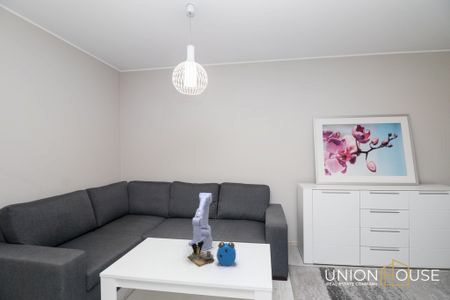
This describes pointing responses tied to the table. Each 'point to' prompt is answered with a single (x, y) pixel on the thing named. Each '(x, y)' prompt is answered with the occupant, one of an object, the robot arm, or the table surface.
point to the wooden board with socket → (201, 258)
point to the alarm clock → (226, 253)
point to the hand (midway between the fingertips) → (197, 252)
